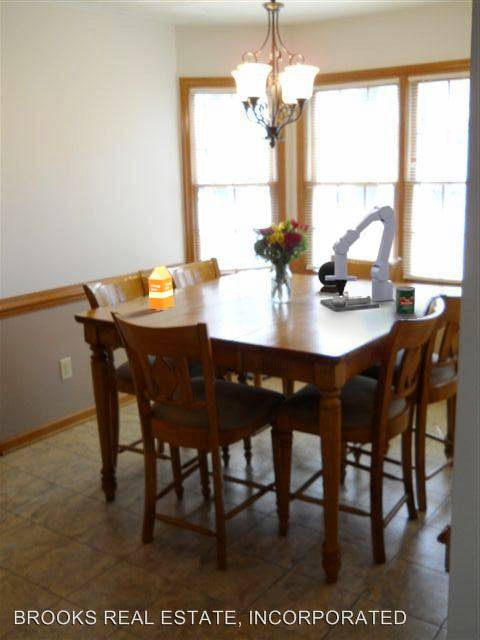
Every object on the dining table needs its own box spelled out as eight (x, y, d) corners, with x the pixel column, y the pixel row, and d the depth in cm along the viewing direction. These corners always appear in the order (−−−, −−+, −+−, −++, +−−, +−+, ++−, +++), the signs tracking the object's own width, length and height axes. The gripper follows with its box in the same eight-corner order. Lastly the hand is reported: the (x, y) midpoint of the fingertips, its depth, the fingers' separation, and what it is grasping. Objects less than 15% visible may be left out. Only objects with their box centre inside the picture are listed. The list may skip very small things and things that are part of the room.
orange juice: (174, 306, 328) (171, 265, 323) (164, 310, 320) (161, 268, 315) (159, 305, 331) (157, 264, 326) (150, 309, 323) (147, 267, 319)
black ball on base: (348, 289, 352) (348, 260, 349) (337, 294, 342) (337, 264, 338) (325, 287, 359) (324, 259, 356) (313, 292, 349) (313, 262, 345)
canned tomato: (404, 316, 292) (404, 290, 289) (391, 312, 299) (392, 287, 296) (418, 313, 295) (419, 288, 293) (406, 310, 302) (406, 285, 300)
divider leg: (343, 302, 314) (343, 296, 313) (339, 302, 315) (339, 296, 314) (348, 298, 324) (348, 291, 323) (345, 297, 324) (345, 291, 324)
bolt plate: (362, 299, 328) (362, 287, 327) (379, 307, 310) (379, 295, 309) (320, 302, 324) (320, 291, 322) (335, 311, 306) (335, 299, 304)
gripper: (323, 268, 318) (323, 296, 321) (354, 268, 313) (354, 298, 316) (327, 265, 324) (327, 293, 327) (357, 266, 319) (357, 295, 322)
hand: (341, 295), depth 322 cm, fingers closed
